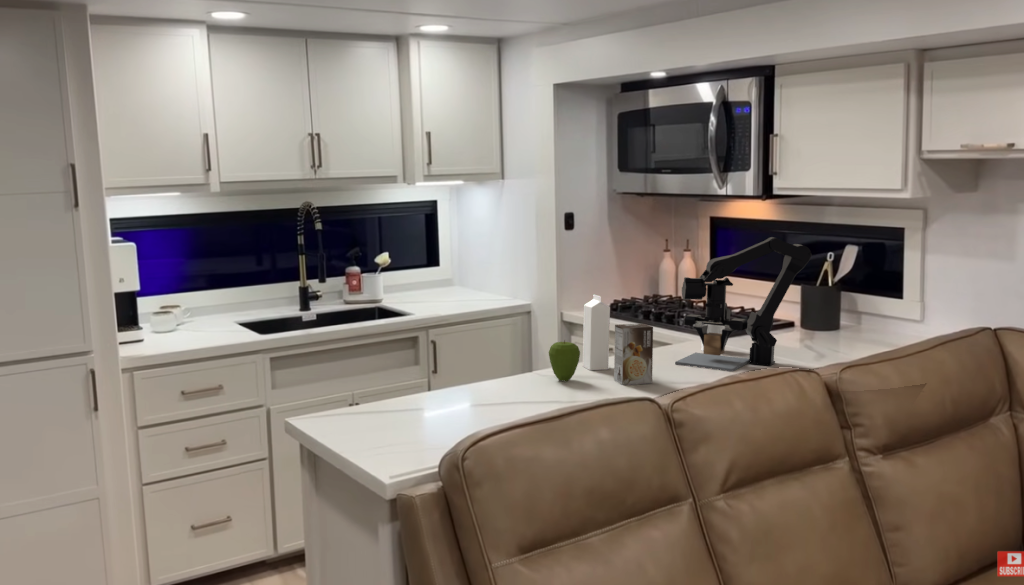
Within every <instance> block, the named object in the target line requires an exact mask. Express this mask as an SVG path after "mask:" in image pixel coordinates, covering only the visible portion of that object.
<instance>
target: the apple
mask: <svg viewBox="0 0 1024 585" xmlns="http://www.w3.org/2000/svg"><path fill="white" fill-rule="evenodd" d="M580 355H581V350H580V348H579V346H578V345H577V344H575V343H574V342H569V341H566V339H564V341H558V342H554V343H553V344H552V345H550V347H549V351H548V358H549V363H550V365H551V369H552V372H553V375H554V376H555V377H556V379H558V380H559V381H561V382H568V381H570V379H571V378H572V377H573V376H574V375H575V373H576V370H577V367H578V365H579V363H580Z"/></svg>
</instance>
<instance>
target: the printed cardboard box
mask: <svg viewBox="0 0 1024 585" xmlns="http://www.w3.org/2000/svg"><path fill="white" fill-rule="evenodd" d="M653 339H654V326H652V325H649V324H646V323H626V324H622V323H621V324H615V325H614V363H613V364H614V367H613V369H614V371H613V372H614V373H613V381H614V382H616V383H618V384H619V385H622V386H629V385H645V384H646V385H647V384H653V360H654V359H653V354H654V352H653V351H654V349H653V346H654V340H653Z"/></svg>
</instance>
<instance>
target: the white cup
mask: <svg viewBox="0 0 1024 585" xmlns="http://www.w3.org/2000/svg"><path fill="white" fill-rule="evenodd" d="M705 325H708V329H707V333H709V332H710V333H720V334H722V330H723V329H725V326H720V325H709V324H705ZM700 342H701V346H700V349H701V351H702V352H704V346H703V343H702V340H701V339H700Z"/></svg>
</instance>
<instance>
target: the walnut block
mask: <svg viewBox="0 0 1024 585" xmlns="http://www.w3.org/2000/svg"><path fill="white" fill-rule="evenodd" d="M721 339H722V334H720V333H710V332H709V333H707V334H705V335H704V351H703V354H710V355H721V356H722V355H724V354H725V350H726V349H725V348H726V347H725V348H724V350H723V351H722V350H721Z"/></svg>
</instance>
